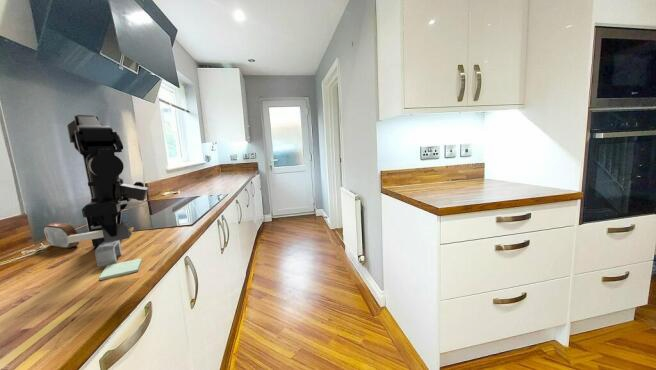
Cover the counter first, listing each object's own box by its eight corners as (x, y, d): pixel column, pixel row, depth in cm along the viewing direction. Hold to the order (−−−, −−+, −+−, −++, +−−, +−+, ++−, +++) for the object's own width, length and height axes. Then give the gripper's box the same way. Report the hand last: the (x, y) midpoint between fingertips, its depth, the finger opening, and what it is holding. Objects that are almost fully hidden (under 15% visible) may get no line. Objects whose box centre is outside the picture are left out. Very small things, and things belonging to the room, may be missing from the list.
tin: (82, 246, 88) (77, 223, 86) (70, 250, 85) (65, 226, 83) (56, 243, 93) (51, 221, 91) (44, 246, 90) (39, 223, 88)
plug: (135, 233, 71) (132, 221, 70) (132, 237, 68) (130, 224, 67) (73, 244, 65) (70, 231, 64) (68, 249, 62) (64, 235, 61)
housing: (122, 253, 80) (119, 238, 79) (116, 263, 73) (112, 247, 72) (105, 256, 78) (102, 241, 77) (97, 267, 71) (94, 250, 70)
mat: (142, 260, 74) (142, 258, 74) (137, 271, 68) (137, 269, 67) (107, 267, 71) (107, 265, 71) (99, 280, 64) (98, 278, 64)
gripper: (137, 176, 61) (147, 238, 63) (147, 170, 77) (155, 220, 79) (74, 181, 55) (89, 248, 58) (99, 174, 72) (109, 227, 74)
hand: (115, 234), depth 68 cm, fingers closed on plug, 4 cm apart
